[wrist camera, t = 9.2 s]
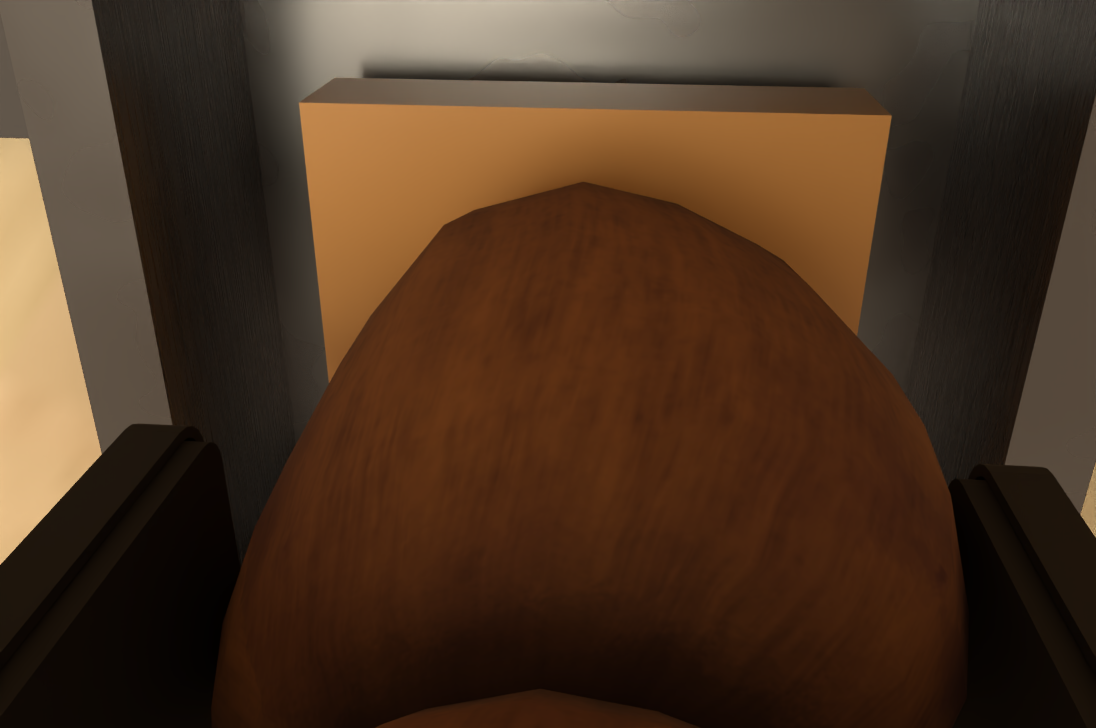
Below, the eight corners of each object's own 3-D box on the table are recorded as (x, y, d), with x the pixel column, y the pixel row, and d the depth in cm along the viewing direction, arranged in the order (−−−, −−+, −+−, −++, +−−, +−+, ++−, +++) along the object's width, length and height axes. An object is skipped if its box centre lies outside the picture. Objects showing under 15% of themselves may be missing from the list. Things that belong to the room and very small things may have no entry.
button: (863, 87, 13) (891, 115, 12) (800, 530, 16) (816, 594, 15) (335, 77, 13) (299, 102, 12) (373, 508, 17) (348, 568, 15)
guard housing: (1030, -128, 14) (1266, -123, 9) (894, 556, 19) (991, 817, 14) (207, -131, 15) (-33, -129, 10) (295, 524, 20) (172, 759, 15)
